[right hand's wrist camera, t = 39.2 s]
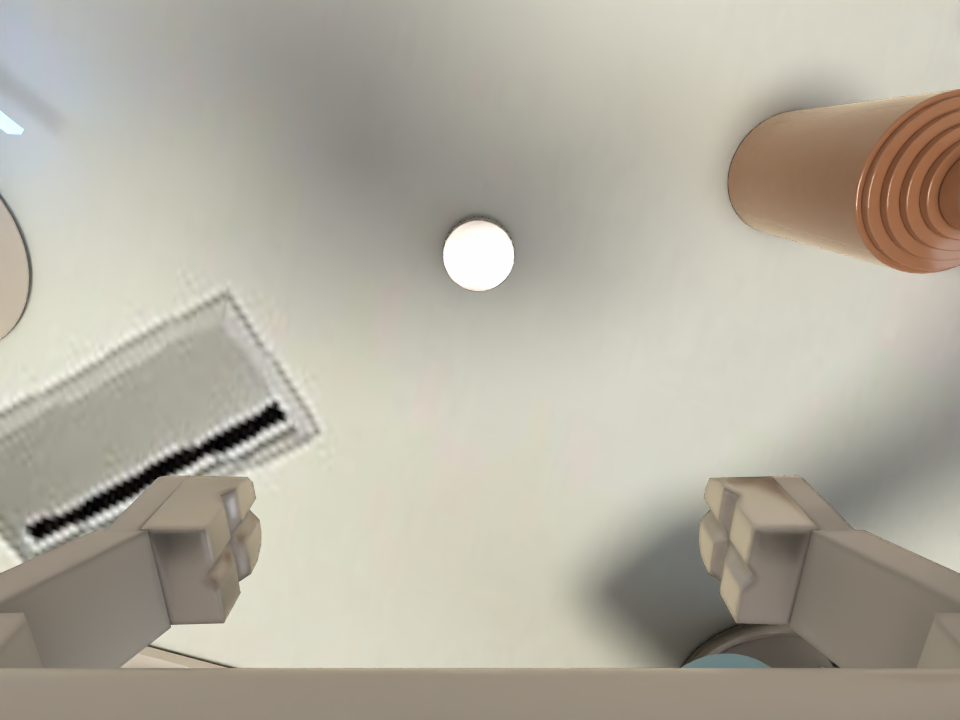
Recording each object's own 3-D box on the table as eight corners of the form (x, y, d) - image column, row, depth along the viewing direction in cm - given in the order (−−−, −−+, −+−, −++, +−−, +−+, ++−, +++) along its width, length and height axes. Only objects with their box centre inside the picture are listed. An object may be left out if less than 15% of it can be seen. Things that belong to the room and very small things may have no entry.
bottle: (713, 142, 34) (913, 134, 18) (832, 89, 33) (1152, 32, 17) (744, 251, 36) (946, 327, 21) (856, 204, 35) (1158, 247, 20)
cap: (466, 299, 38) (466, 305, 36) (430, 239, 36) (428, 243, 35) (526, 264, 37) (528, 269, 35) (491, 202, 35) (491, 204, 34)
